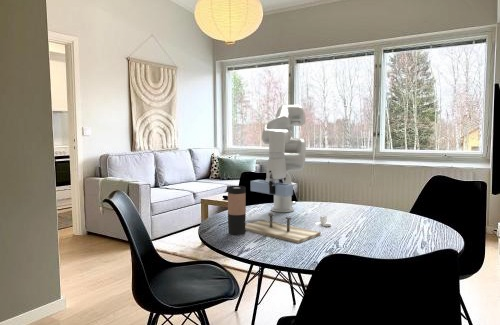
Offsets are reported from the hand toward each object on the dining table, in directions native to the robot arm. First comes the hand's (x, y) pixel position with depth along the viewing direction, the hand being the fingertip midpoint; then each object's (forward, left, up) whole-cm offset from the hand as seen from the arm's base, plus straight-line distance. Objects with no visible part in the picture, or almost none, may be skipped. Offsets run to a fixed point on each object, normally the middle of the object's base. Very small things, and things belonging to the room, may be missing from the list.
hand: (276, 192), depth 187 cm
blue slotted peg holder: (0, -3, -1) cm, 4 cm away
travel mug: (+30, +2, -14) cm, 33 cm away
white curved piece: (-6, +21, -14) cm, 26 cm away
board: (+16, +14, -14) cm, 25 cm away
